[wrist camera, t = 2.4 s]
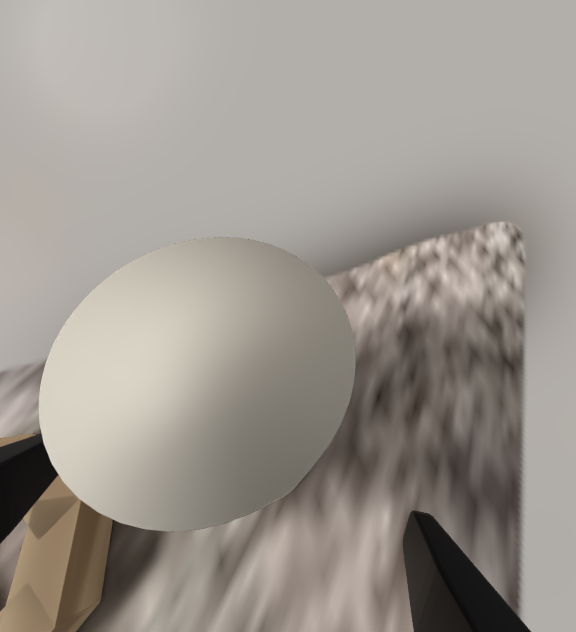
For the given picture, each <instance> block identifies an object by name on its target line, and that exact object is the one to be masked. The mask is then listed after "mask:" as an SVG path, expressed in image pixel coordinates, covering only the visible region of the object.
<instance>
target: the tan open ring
mask: <svg viewBox="0 0 576 632" xmlns="http://www.w3.org/2000/svg"><path fill="white" fill-rule="evenodd" d="M35 435H38V434H34V433H33V434H27V435H20V436H12V437H5V438H0V447H1V446H4V445H7V444H10V443H13V442H16V441H20V440H23V439H26V438H29V437H32V436H35ZM23 519H24V520H25V522H26V523H27V525H28V526H27V530H26V534H25V537H24V541H23V544H22V548H21V552H20V555H19V559H18V562H17V566H16V570H15V573H14V577H13V581H12V584H11V588H10V591H9V595H8V599H7V602H6V606H5V607H4V608H3V609H2V610H1V612H0V632H76V631H77V630H78V629H79V628H80V626H81V625H82V624H83V623H84V621H85V620H86V619H87V618H88V616H89V615H90V614H91V613H92V612H93V610H94V609H95V608H96V607H97V605H98V604H99V603H100V602H101V595H102V589H103V582H104V575H105V569H106V562H107V556H108V549H109V543H110V536H111V530H112V523H113V519H111V518H109V517H107V516H105V515H103V514H100V513H98V512H97V511H95V510H94V509H93V508H91V507H90V506H88V505H87V504H86V503H84V502H83V501H82V500H80V499H79V498H78V497H77V496H76V495H75V494H74V493H73V492H72V491H71V490H70V489H69V487H68V486H67V485H66V484H65V483H64V482H63V481H62V479H61V478H60V476H59V475H58V476H57V477H56V479H55V480H54V481H53V482H52V483H51V485H50V486H49V487H48V488H47V490H46V491H45V492H44V493H43V494H42V496H41V497H40V498H39V499H38V501H37V502H36V503H35V504H34V505H33V507H32V508H31V509H30V510H29V511H28V513H27V514H26V515H25V516H24V518H23Z"/></svg>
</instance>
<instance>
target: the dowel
mask: <svg viewBox="0 0 576 632" xmlns="http://www.w3.org/2000/svg"><path fill="white" fill-rule="evenodd" d="M355 367H356V357H355V343H354V338H353V333H352V328H351V325H350V322H349V319H348V316H347V314H346V311H345V309H344V307H343V305H342V303H341V301H340V299H339V298H338V296H337V295H336V293H335V292H334V290H333V289H332V288H331V286H330V285H329V284H328V282H327V281H326V280H325V279H324V278H323V277H322V276H321V275H320V274H319V273H318V272H317V271H316V270H314V269H313V268H312V267H311V266H310V265H309V264H307V263H306V262H304V261H303V260H301V259H300V258H298V257H297V256H295V255H293V254H291V253H289V252H287V251H285V250H283V249H281V248H278V247H275V246H273V245H270V244H267V243H263V242H259V241H255V240H250V239H243V238H231V237H213V238H201V239H194V240H188V241H184V242H180V243H175V244H172V245H169V246H166V247H163V248H160V249H157V250H155V251H153V252H150V253H148V254H146V255H143V256H141V257H140V258H138V259H136V260H134V261H132V262H130V263H128V264H127V265H125V266H124V267H122V268H121V269H119V270H118V271H116V272H114V273H113V274H112V275H111V276H109V277H108V278H107V279H105V280H104V281H103V282H102V283H100V284H99V285H98V286H97V287H96V288H95V289H94V290H93V291H92V292H91V293H90V294H89V295H88V296H86V298H85V299H84V300H83V301H82V302H81V303H80V305H79V306H78V307H77V308H76V309H75V310H74V312H73V313H72V314H71V316H70V317H69V319H68V320H67V322H66V323H65V324H64V326H63V327H62V329H61V331H60V333H59V335H58V337H57V338H56V340H55V342H54V344H53V346H52V349H51V351H50V354H49V356H48V359H47V361H46V365H45V368H44V372H43V376H42V380H41V386H40V395H39V423H40V428H41V433H42V438H43V442H44V445H45V448H46V451H47V453H48V456H49V458H50V461H51V463H52V465H53V466H54V468H55V470H56V471H57V473H58V474H59V476H60V478H61V479H62V481H63V482H64V483H65V484H66V485H67V486H68V487H69V489H70V490H71V491H72V492H73V493H74V494H75V495H76V496H77V497H78V498H79V499H80V500H82V501H83V502H84V503H86V504H87V505H88V506H90V507H91V508H93V509H94V510H95V511H97V512H98V513H100V514H103V515H105V516H107V517H109V518H111V519H113V520H115V521H117V522H120V523H123V524H127V525H130V526H134V527H138V528H142V529H147V530H158V531H170V532H174V531H187V530H199V529H203V528H208V527H212V526H216V525H220V524H225V523H228V522H230V521H233V520H235V519H238V518H240V517H243V516H245V515H248V514H250V513H253V512H255V511H257V510H259V509H261V508H263V507H265V506H267V505H269V504H271V503H273V502H275V501H277V500H279V499H281V498H283V497H284V496H286V495H287V494H289V493H290V492H291V491H292V490H293V489H294V488H295V487H296V486H297V485H298V484H299V483H300V481H301V480H302V479H303V478H304V477H305V476H306V474H307V473H308V472H309V471H310V470H311V469H312V467H313V466H314V465H315V464H316V463H317V461H318V460H319V459H320V457H321V456H322V455H323V453H324V452H325V450H326V449H327V448H328V446H329V445H330V444H331V442H332V440H333V438H334V436H335V435H336V433H337V431H338V429H339V427H340V425H341V424H342V421H343V418H344V416H345V413H346V411H347V408H348V405H349V403H350V398H351V394H352V390H353V385H354V379H355Z"/></svg>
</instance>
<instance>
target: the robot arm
mask: <svg viewBox="0 0 576 632" xmlns="http://www.w3.org/2000/svg"><path fill="white" fill-rule="evenodd" d="M58 475H59V474H58V473H57V471H56V470H55V468H54V466H53V465H52V463H51V461H50V458H49V456H48V453H47V451H46V448H45V445H44V442H43V438H42V433H41V434H38V435H35V436H32V437H29V438H26V439H23V440H20V441H16V442H13V443H10V444H7V445H4V446H1V447H0V544H1V543H2V541H3V540H4V539H5V538H6V537H7V536H8V535H9V534H10V533H11V532H12V530H13V529H14V528H15V527H16V526H17V525H18V523H19V522H20V521H21V520H22V519H23V518H24V516H25V515H26V514H27V513H28V511H29V510H30V509H31V508H32V507H33V505H34V504H35V503H36V502H37V501H38V499H39V498H40V497H41V496H42V494H43V493H44V492H45V491H46V490H47V488H48V487H49V486H50V485H51V483H52V482H53V481H54V480H55V479H56V477H57V476H58ZM403 553H404V561H405V568H406V576H407V584H408V591H409V599H410V607H411V614H412V622H413V629H414V632H531V631H530V630H529V629H528V628H527V626H526V625H525V624H524V623H523V622H522V621H521V619H520V618H519V617H518V616H517V615H516V613H515V612H514V611H513V610H512V609H511V608H510V606H509V605H508V604H507V603H506V602H505V601H504V599H503V598H502V597H501V596H500V595H499V594H498V592H497V591H496V590H495V589H494V588H493V587H492V585H491V584H490V583H489V582H488V581H487V580H486V578H485V577H484V576H483V575H482V574H481V572H480V571H479V570H478V569H477V568H476V567H475V565H474V564H473V563H472V562H471V561H470V560H469V558H468V557H467V556H466V555H465V554H464V553H463V551H462V550H461V549H460V548H459V547H458V546H457V544H456V543H455V542H454V541H453V540H452V539H451V537H450V536H449V535H448V534H447V533H446V531H445V530H444V529H443V528H442V527H441V526H440V524H439V523H438V522H437V521H436V520H435V519H434V517H433V516H431V515H430V514H428V513H424V512H420V511H412V512H411V513H410V515H409V518H408V522H407V525H406V529H405V532H404V536H403Z"/></svg>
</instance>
